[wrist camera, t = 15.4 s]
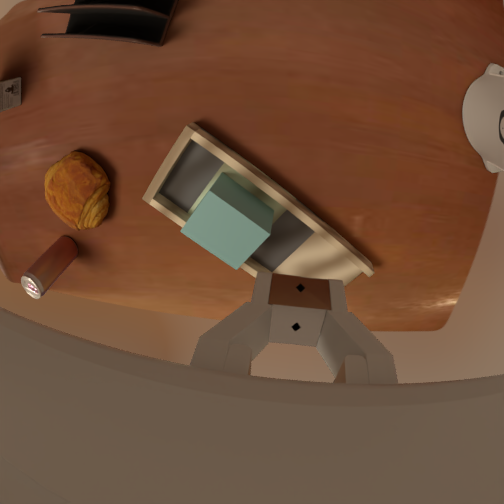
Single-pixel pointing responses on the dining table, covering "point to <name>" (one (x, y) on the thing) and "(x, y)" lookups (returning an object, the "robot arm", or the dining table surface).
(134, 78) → the dining table surface
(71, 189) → the croissant
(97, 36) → the letter holder
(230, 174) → the trap lane
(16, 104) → the coffee box
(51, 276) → the beverage can
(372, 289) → the dining table surface
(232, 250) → the teal block
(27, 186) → the dining table surface
